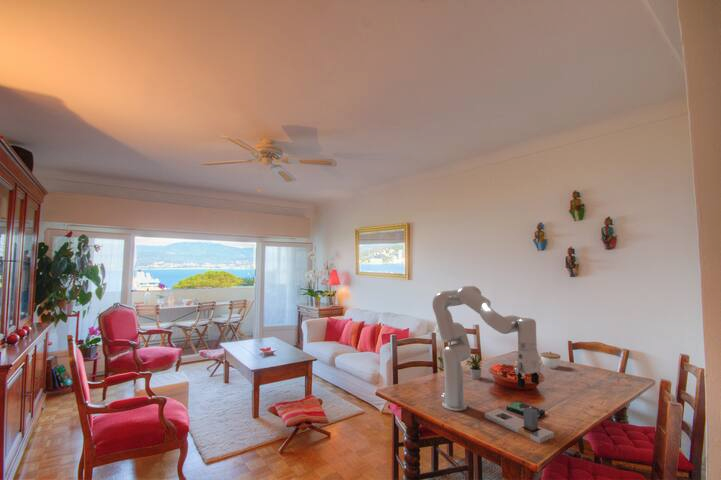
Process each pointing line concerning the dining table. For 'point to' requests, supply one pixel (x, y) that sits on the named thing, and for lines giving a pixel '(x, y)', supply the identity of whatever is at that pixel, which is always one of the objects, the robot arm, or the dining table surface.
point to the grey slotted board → (518, 425)
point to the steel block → (530, 419)
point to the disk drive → (519, 407)
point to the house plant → (475, 367)
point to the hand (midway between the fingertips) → (528, 385)
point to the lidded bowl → (550, 360)
